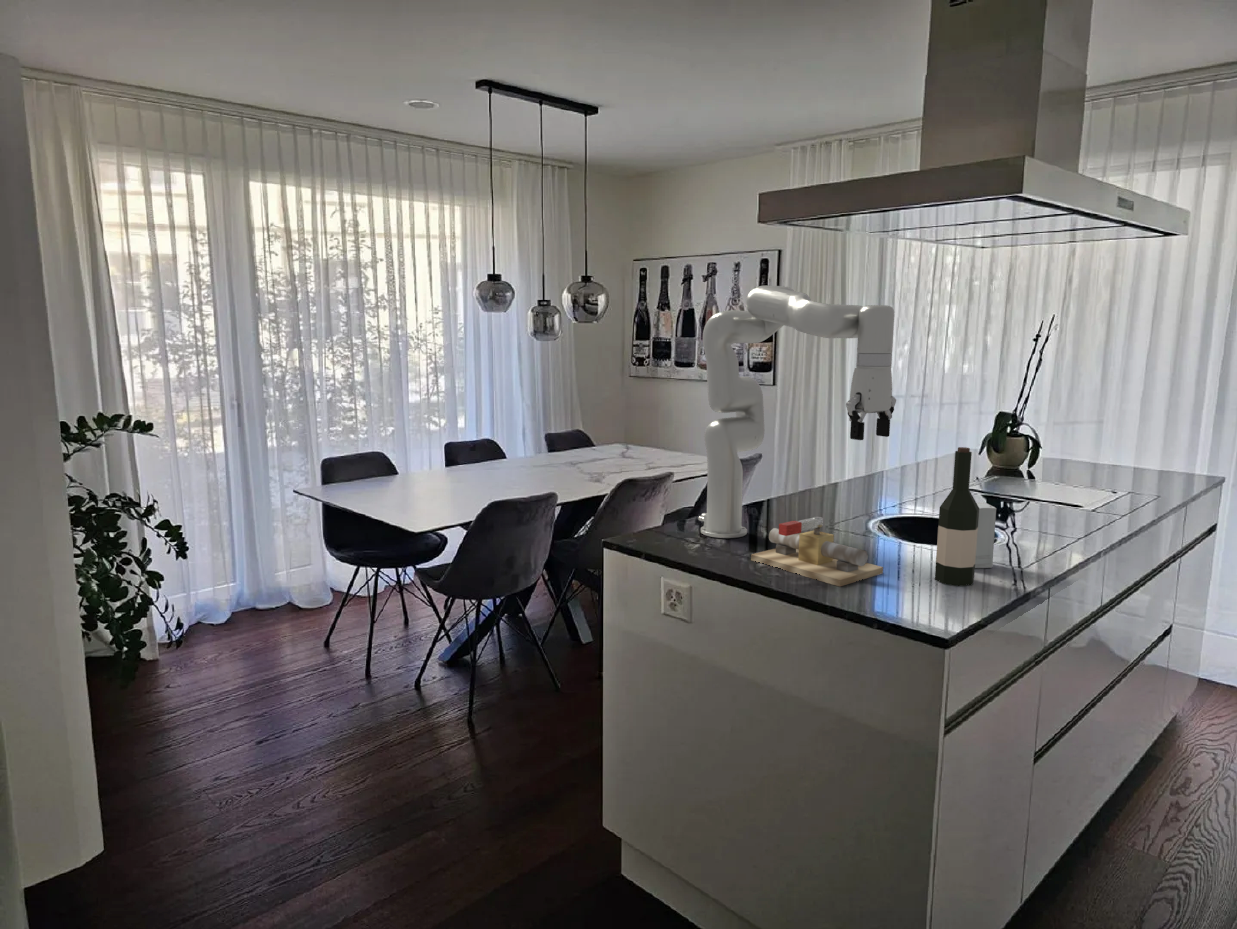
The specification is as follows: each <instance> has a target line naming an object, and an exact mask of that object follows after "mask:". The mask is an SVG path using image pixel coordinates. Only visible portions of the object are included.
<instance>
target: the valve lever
mask: <svg viewBox="0 0 1237 929" xmlns="http://www.w3.org/2000/svg"><path fill="white" fill-rule="evenodd" d="M823 527H824V517H821V516H812V517H811V518H805V519H801V520H790V521H785V522H782V523H778V529H779V534H780V535H784V536H789V535H793V534H800V533H802V532H806V531H811V530H814V528H820V529H821V528H823Z"/></svg>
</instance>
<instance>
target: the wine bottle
mask: <svg viewBox="0 0 1237 929" xmlns="http://www.w3.org/2000/svg"><path fill="white" fill-rule="evenodd" d="M970 450H971V449H970V447H966V446H963V447H962V446H960V447H959V446H958V447H957V450H956V451H954V452H955V453H954V463H953V464H954V467H953V478H952V489H951V491H950V492H949V493H948V495H947V496H946V498H945V499H944V501H943V502H942V503H941V505H940V506H939V512H938V527H937V538H936V539H937V544H936V556H935V557H936V558H935V570H934V580H935V581H936V580H937V581H936V582H939V583H941V584H943V585H947V586H956V587H967V586H972V585H973V584H974V582H975V572H976V571H975V569H976V568H975V559H976V546H977V533H978V520H979V507H978V505H977V503H978V502H977V501H976V500H975V498H974V497H973V496H974V495H973V494H972V492H971V491H970V480H971V468H972V467H971V466H972V457H973V456H972V454H973V452H972V451H970Z"/></svg>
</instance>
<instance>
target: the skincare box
mask: <svg viewBox="0 0 1237 929" xmlns="http://www.w3.org/2000/svg"><path fill="white" fill-rule="evenodd" d="M976 503H977V505H978V507H979V520H978V533H977V546H976V559H975V569H989V568H990V569H991V568H993V563H994V562H993V561H994V547H995V531H996V516H997V507H995V506H993V505H991V504H989V503H987V502H985V501H984V502H983V501H982V502H976Z"/></svg>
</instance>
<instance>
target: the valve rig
mask: <svg viewBox="0 0 1237 929" xmlns="http://www.w3.org/2000/svg"><path fill="white" fill-rule="evenodd" d="M834 537H835V534H832V533H828V532H824V531H821V528H814V529H812V530H808V531H804V532H801V533H797V534H793V535H789V536H784V535H780V534H779V528H777V527H773V528H772V529H771V530H770V531H769V533H768V539H769V542H770V543H773V544H775V548H772V549H768V550H767V549H766V550H763V551H759V552H756V553H751V555H750V556H751V557H750V561H752V562H755V561H756V562H755V563H758V562H760V563H759V564H762V563H764V564H763V565H765V564H767V565H766V566H768V565H770V566H769V567H772V566H773V568H775V567H778V568H781V569H780V570H782V569H783V571H785V570H786V572H789V573H792V574H795V573H797V574H796V575H799V574H800V575H799V576H802V577H806V578H809V579H812V580H816V579H817V580H816V581H820V582H822V583H826V584H828V585H832V586H837V587H843V586H846V585H849V584H852V583H853V584H854V583H856V581H857V582H859V580H860V581H863V580H866V579H869V578H872V577H876V576H879V575H882V574H884V566H880V565H876V564H873V563H868V558H869V557H868V556H869V555H868V551H867V550H864V549H860V548H856V547H852V546H848V545H844V544H840V543H836V542H834V540H835V538H834ZM778 568H777V569H778ZM862 579H863V580H862Z"/></svg>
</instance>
